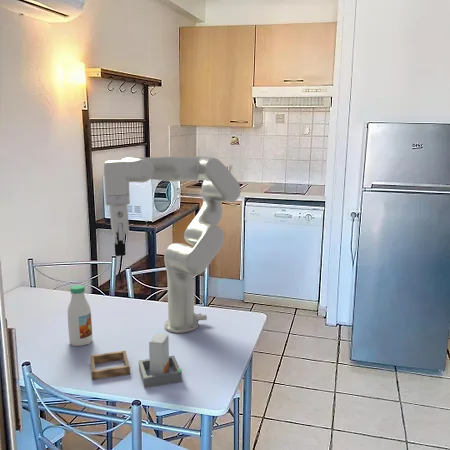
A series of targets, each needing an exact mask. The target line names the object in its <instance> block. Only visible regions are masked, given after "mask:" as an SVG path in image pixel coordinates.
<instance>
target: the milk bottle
mask: <svg viewBox="0 0 450 450" xmlns="http://www.w3.org/2000/svg"><path fill="white" fill-rule="evenodd" d="M69 291H70V294H71V297H70V302H69V304H68V307H67V326H68V327H67V329H68V339H69V343H70V345H71V346H74V347H81V346H86V345H88V344H91V343H92V341H93V326H92V325H93V324H92V311H91V306H90V304H89V302H88V300H87V298H86V296H85V293H86V289H85V286H84V285H81V284H80V285H79V284H77V285H73V286H70V290H69Z"/></svg>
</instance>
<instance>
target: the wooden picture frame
mask: <svg viewBox="0 0 450 450" xmlns="http://www.w3.org/2000/svg"><path fill="white" fill-rule="evenodd" d="M89 357H90V367H91V368H90V369H91V381H95V380H102V379H107V378H114V377H121V376H126V375H130V374H131V368H130V363H129V359H128V355H127V352H126V350H119V351H112V352H105V353H97V354H90V356H89ZM114 361H123V364H124V365H122V366H115V367H114V366H113V367H108V368H107V367H106V368H100V369H96V366H95V365H96V364H100V363H101V364H102V363H108V362H114Z"/></svg>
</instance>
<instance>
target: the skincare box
mask: <svg viewBox="0 0 450 450" xmlns="http://www.w3.org/2000/svg"><path fill="white" fill-rule="evenodd" d="M169 338H170V337H169V334H160V333H155V334H154V336H152V338H151V339H150V341H149V342H148V345H149V346H148V351H149V353H148V354H149V358H148V359H150V370H149V376H151V375H157V374H164V373H170V367H169V356H170V350H169V349H170V347H169V340H170V339H169Z"/></svg>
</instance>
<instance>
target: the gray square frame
mask: <svg viewBox="0 0 450 450" xmlns="http://www.w3.org/2000/svg"><path fill="white" fill-rule="evenodd" d="M170 367H172V370H173V371H169V372H168V373H164V374H157V375H151V376H150V375H147V372H146V371H148V370H149V371H150V358H147V359H140V360H138V371H139V375H140V378H141V382H142V386H143V389H146V388H151V387H158V386H164V385H170V384H175V383H181V382H183V380H182V379H183V373H182V368H180V366H179V364H178V361H177V358H176V357H175V355H169V368H170Z"/></svg>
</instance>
